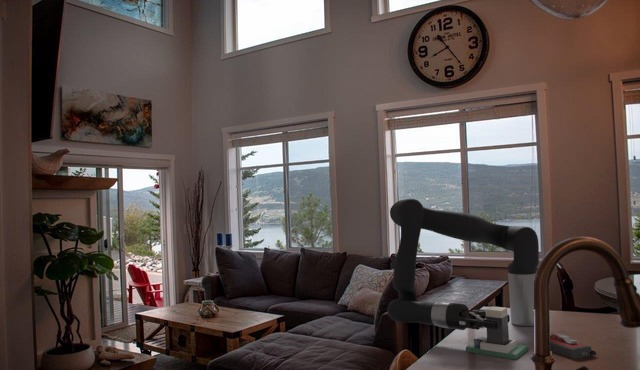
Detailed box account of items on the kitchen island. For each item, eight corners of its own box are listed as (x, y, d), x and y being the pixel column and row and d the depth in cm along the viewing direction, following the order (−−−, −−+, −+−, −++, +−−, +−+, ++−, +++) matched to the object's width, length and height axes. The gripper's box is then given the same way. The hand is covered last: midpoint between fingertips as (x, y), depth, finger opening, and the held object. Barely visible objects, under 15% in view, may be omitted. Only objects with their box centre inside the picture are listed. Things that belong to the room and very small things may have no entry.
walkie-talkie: (603, 357, 132) (548, 339, 151) (602, 340, 132) (547, 324, 151) (577, 362, 129) (524, 342, 148) (576, 345, 129) (523, 327, 148)
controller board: (479, 342, 149) (479, 330, 149) (527, 349, 140) (527, 336, 140) (466, 351, 141) (465, 337, 141) (515, 359, 132) (515, 345, 132)
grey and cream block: (493, 344, 142) (491, 306, 143) (509, 346, 139) (507, 307, 140) (487, 348, 139) (485, 309, 139) (503, 351, 136) (501, 310, 136)
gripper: (438, 307, 143) (493, 313, 133) (459, 298, 154) (511, 303, 144) (439, 333, 143) (495, 341, 132) (460, 323, 154) (513, 329, 143)
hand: (503, 321), depth 138 cm, fingers open, 8 cm apart
